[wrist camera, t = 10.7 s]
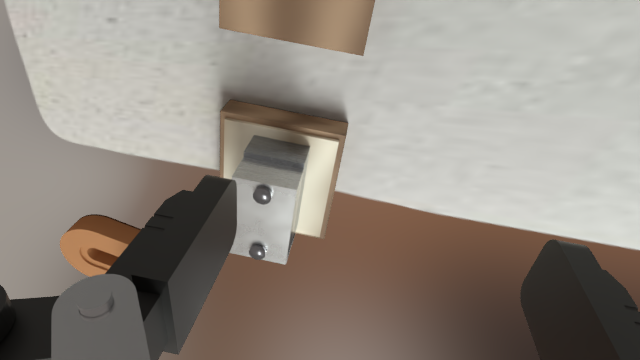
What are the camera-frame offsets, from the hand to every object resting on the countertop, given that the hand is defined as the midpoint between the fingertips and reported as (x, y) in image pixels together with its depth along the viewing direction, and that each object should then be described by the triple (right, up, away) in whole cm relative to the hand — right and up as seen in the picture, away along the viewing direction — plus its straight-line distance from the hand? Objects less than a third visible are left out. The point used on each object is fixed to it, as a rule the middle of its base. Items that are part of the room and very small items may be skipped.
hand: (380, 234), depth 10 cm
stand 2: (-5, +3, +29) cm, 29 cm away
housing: (-6, +1, +26) cm, 27 cm away
